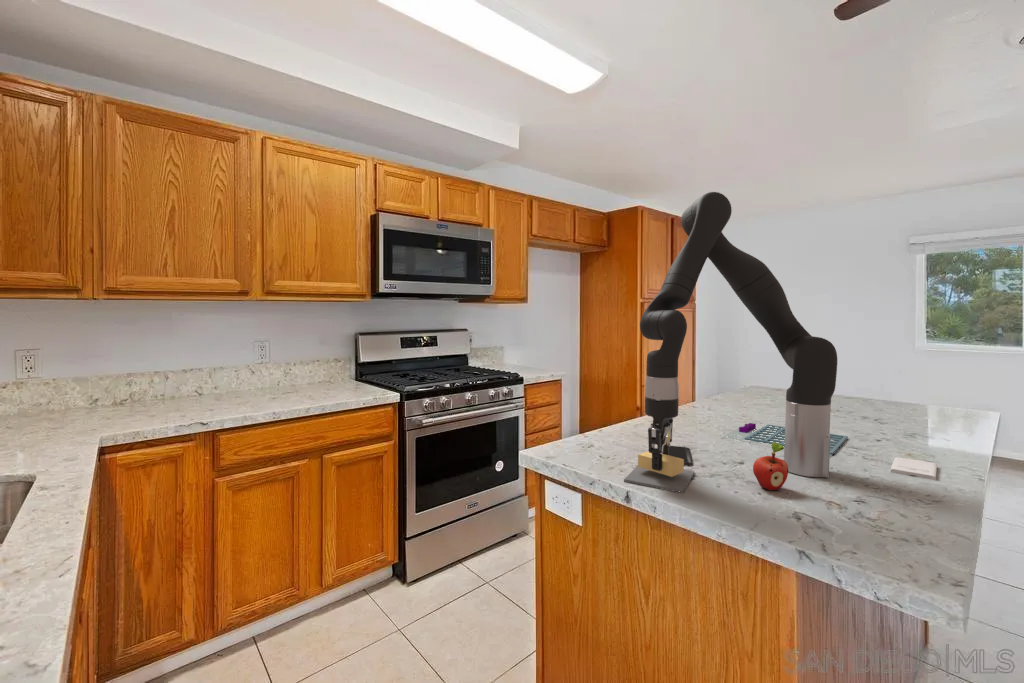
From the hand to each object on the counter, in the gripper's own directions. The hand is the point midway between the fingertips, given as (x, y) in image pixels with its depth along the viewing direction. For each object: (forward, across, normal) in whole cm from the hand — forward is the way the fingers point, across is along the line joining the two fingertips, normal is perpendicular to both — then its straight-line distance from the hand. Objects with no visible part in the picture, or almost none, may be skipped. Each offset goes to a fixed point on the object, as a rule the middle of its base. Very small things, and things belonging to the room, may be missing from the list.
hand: (660, 465), depth 109 cm
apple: (+3, -6, +22) cm, 23 cm away
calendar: (+4, -55, +24) cm, 60 cm away
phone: (+4, -19, 0) cm, 19 cm away
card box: (+1, 0, 0) cm, 1 cm away
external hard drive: (+4, -38, +53) cm, 65 cm away
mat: (+3, 0, 0) cm, 3 cm away
